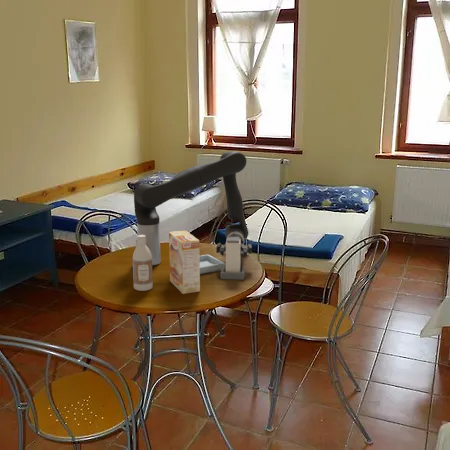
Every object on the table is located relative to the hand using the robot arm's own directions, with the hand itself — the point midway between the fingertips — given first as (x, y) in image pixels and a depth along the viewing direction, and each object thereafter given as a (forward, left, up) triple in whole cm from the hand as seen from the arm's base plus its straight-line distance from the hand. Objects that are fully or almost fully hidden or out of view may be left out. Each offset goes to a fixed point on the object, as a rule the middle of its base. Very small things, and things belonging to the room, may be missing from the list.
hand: (233, 253), depth 215 cm
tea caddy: (-1, -1, -9) cm, 9 cm away
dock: (-1, -1, -9) cm, 9 cm away
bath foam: (-37, +4, -9) cm, 38 cm away
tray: (-7, +14, -9) cm, 17 cm away
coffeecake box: (-23, -2, -9) cm, 24 cm away
